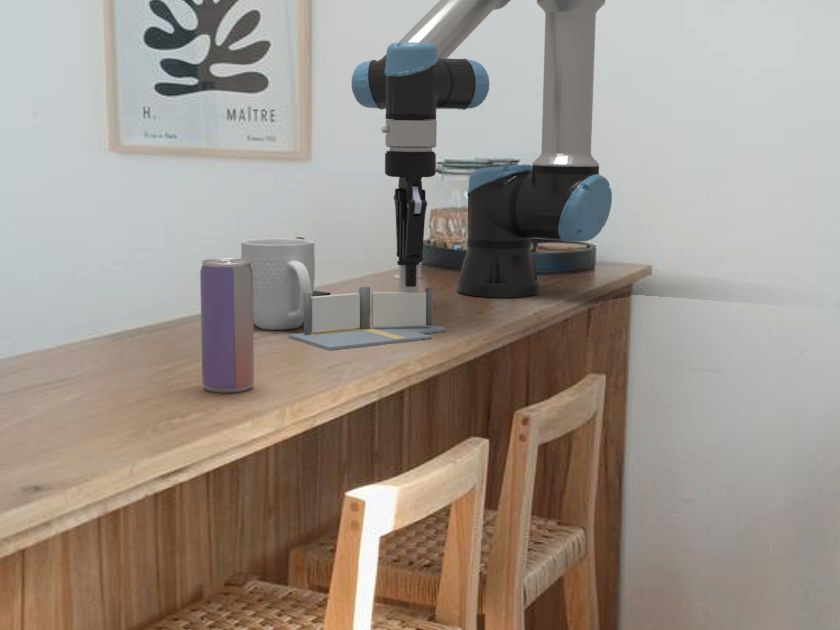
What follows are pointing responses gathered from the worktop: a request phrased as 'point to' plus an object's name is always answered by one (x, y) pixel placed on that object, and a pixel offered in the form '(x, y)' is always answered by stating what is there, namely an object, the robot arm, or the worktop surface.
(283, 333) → the worktop surface
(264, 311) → the mug
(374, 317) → the panel
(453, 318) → the worktop surface
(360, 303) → the fence fixed panel
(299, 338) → the card
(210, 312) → the beverage can
